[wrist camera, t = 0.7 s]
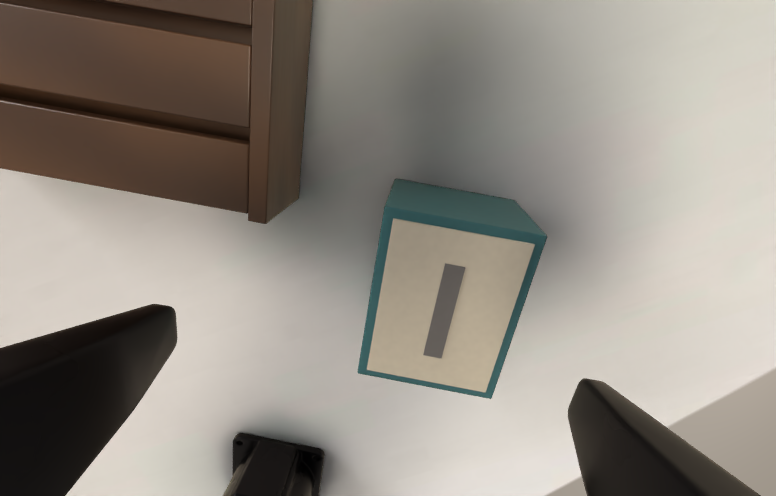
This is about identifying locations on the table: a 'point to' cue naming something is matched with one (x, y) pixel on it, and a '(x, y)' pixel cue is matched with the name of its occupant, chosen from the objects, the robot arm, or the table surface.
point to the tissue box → (448, 287)
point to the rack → (159, 97)
